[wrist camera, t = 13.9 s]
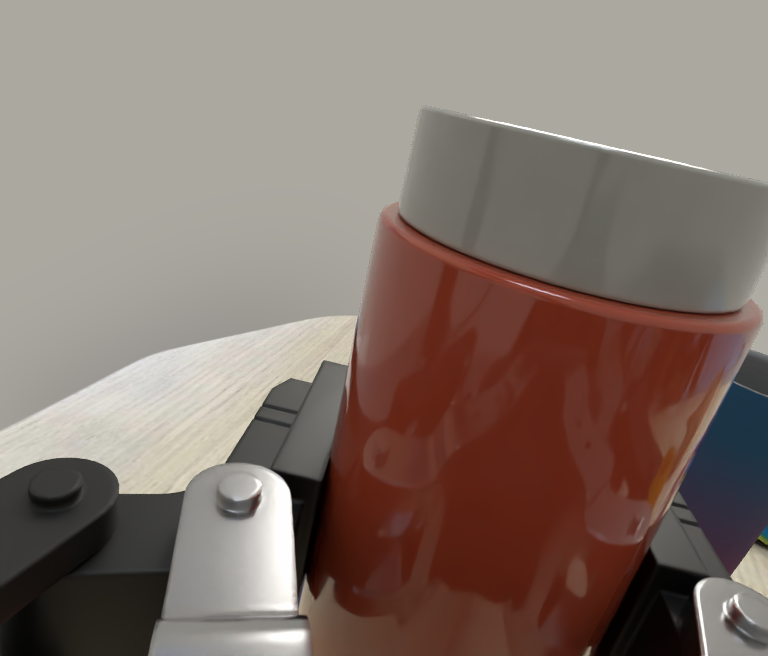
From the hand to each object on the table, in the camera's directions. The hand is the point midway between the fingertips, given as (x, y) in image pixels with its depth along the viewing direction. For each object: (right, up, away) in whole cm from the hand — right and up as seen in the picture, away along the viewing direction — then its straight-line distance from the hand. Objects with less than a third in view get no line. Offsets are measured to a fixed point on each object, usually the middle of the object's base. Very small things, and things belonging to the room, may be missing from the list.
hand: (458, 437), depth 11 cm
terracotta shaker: (-2, -7, 0) cm, 7 cm away
